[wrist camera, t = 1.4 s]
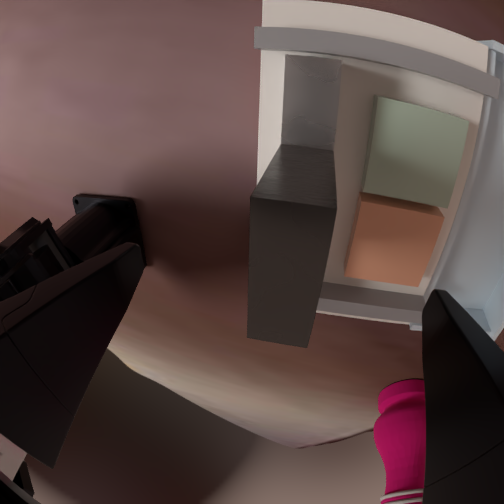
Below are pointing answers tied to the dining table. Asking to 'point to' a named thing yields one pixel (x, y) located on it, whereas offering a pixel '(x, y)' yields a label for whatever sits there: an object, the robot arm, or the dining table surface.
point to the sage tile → (413, 152)
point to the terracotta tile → (391, 239)
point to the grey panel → (295, 207)
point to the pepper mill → (402, 440)
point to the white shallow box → (359, 117)
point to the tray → (479, 220)
